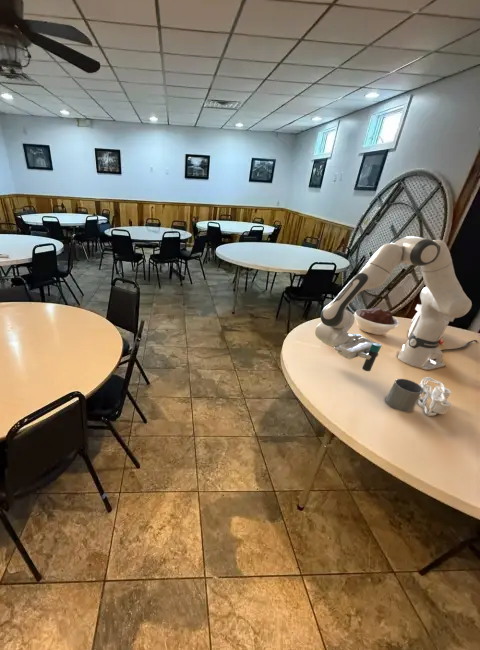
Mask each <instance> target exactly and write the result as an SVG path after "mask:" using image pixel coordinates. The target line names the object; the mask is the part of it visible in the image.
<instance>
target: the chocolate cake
mask: <svg viewBox="0 0 480 650" xmlns="http://www.w3.org/2000/svg"><path fill="white" fill-rule="evenodd" d="M353 315H354V321H356V327H357V328H358V329H359V330H361V331H363V332H365V333H368V334H370V335H371V334H372V335H379V336H380V335H382V336H383V335H386V334H388V333H389V332H390V331H392V330H394V329H396V328H397V327H398V326H399V325H400V321H399V319H398V318H397V317H395V316H393V314H392V312H391V310H383V309H381V308H379V307H378V306H375V307H373V308H368V309H367V308H366V309H365V308H361V309H357V310H356V311H355V312H354V313H353Z"/></svg>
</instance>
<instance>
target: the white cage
mask: <svg viewBox="0 0 480 650" xmlns="http://www.w3.org/2000/svg"><path fill="white" fill-rule="evenodd" d="M428 382H432V383H435V384H436V385H435V387H432V385H429V384H428ZM419 385H420V386H421V387H422V388H423V393H424V396H420V398H419V400H418V402H417V404H418V405H419V406H420V407H421V409H423V410H424V414H425V415H426V416H428V417H435V416H436V415H437V414H440V415H445V414H446V413H447V412H448V410H449V409H450V407H451V405H452V404H451V402H450V401H448V400H447V399H448V398H449V396H450V395H451V390H450V389H449V388H447V387H446V386H445V385H444V383H443V382H442V381H439V380H436V379H434V378H432V377H431V376H425V377H423V378H422V379H421V382H420V383H419ZM430 398H431V403H430V404H429V407H427V406H426V405H425V404H426V403H427V401H428V400H429V399H430ZM428 408H429V410H428Z"/></svg>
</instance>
